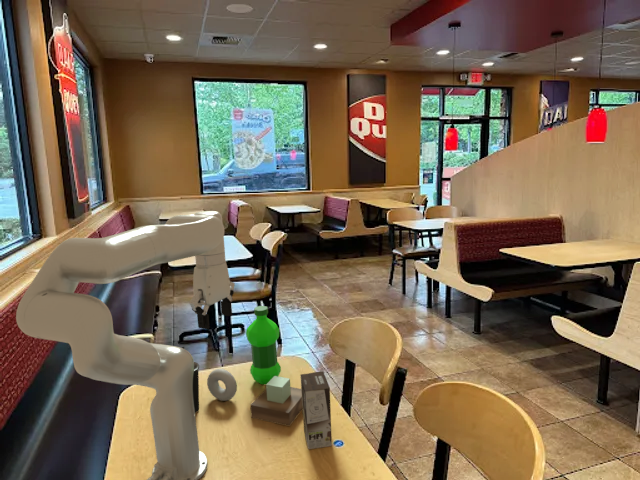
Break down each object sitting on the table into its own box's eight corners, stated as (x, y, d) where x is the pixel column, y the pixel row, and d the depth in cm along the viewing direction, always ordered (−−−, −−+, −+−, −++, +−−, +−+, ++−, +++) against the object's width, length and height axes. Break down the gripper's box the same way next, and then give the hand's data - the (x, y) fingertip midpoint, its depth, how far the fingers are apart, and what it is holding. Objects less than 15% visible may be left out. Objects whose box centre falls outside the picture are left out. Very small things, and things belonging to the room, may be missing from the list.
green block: (267, 400, 126) (266, 384, 125) (275, 391, 131) (274, 375, 130) (282, 403, 124) (281, 387, 123) (290, 394, 129) (289, 378, 128)
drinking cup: (176, 406, 132) (168, 344, 128) (202, 400, 135) (196, 339, 130) (176, 420, 125) (168, 355, 121) (204, 414, 128) (197, 350, 123)
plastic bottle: (285, 373, 149) (281, 303, 143) (275, 390, 139) (270, 315, 133) (257, 371, 151) (252, 301, 146) (245, 387, 141) (239, 313, 136)
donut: (240, 399, 134) (237, 369, 132) (234, 405, 131) (231, 375, 129) (213, 393, 138) (210, 364, 136) (206, 399, 135) (203, 369, 133)
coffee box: (332, 446, 112) (330, 388, 108) (307, 450, 111) (304, 391, 108) (326, 424, 121) (324, 370, 117) (303, 427, 120) (299, 373, 116)
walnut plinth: (289, 426, 121) (288, 413, 120) (251, 417, 125) (250, 404, 124) (307, 402, 131) (307, 390, 131) (272, 395, 136) (271, 383, 135)
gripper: (219, 251, 124) (224, 309, 127) (175, 266, 109) (182, 331, 112) (241, 252, 121) (246, 312, 124) (200, 268, 106) (206, 336, 109)
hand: (215, 321), depth 118 cm, fingers open, 9 cm apart
